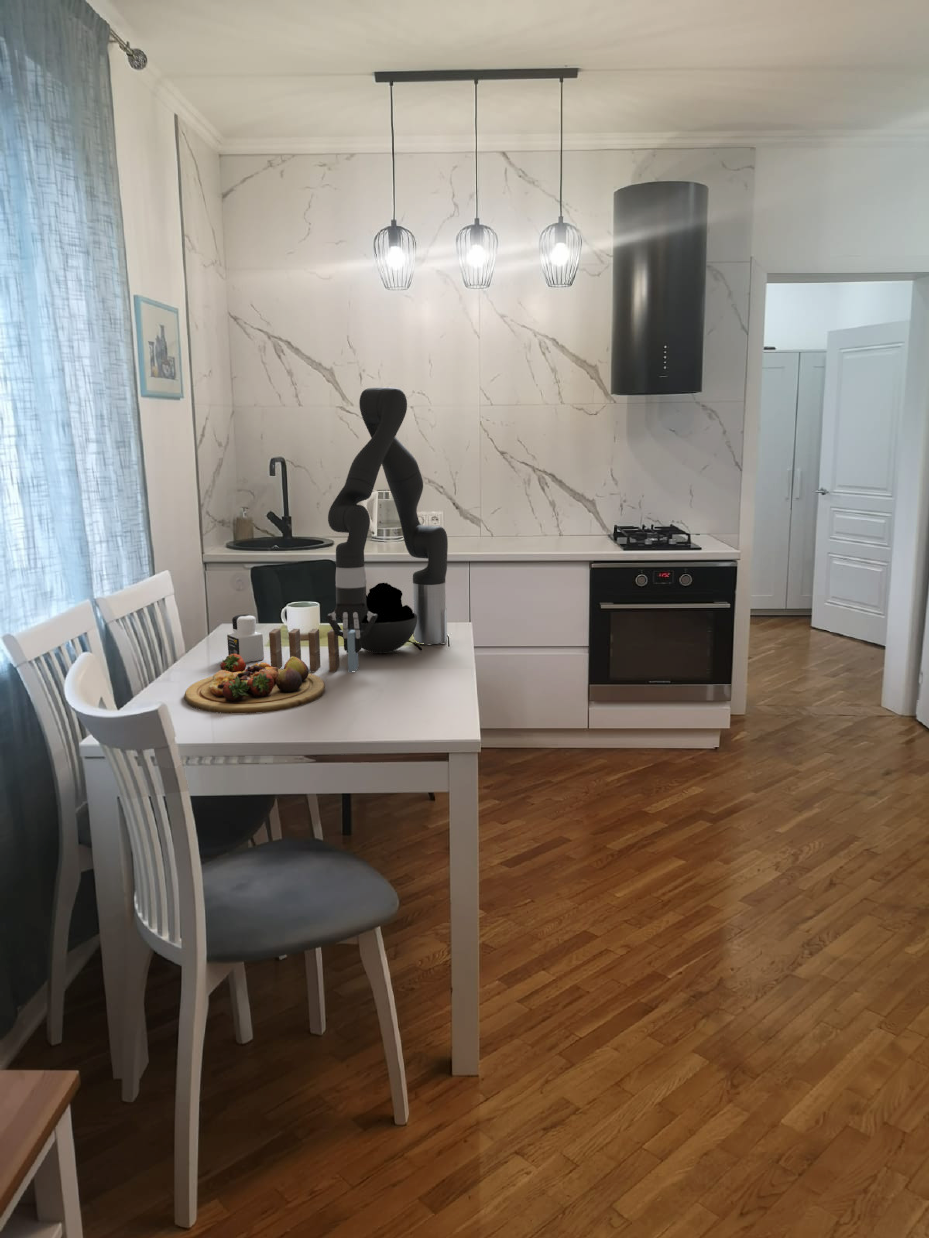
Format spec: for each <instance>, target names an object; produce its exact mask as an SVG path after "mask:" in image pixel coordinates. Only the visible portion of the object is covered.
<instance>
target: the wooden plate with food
mask: <svg viewBox="0 0 929 1238" xmlns="http://www.w3.org/2000/svg"><path fill="white" fill-rule="evenodd" d="M246 664H247V663H245V662H244V660H243V659H242V657H241V656H240V655H237V654H230V655H229V656H228V655H227V656H226V657H225V659H222V662H221V663H220V670H219V671H217V672H215V674H213V675H212V676H209V677H205V678H203V679H201V680H198V681H195V682H194V683H193V684H191V685H190V686H188V688H187V689H186V690H185V693H184V700H185V702H186V703H187V705H188V706H190V707H192V708H195V709H196V708H197V710H199V709H200V711H204V712H209V713H210V712H211V713H216V712H218V714H231V713H246V714H257V713H256V712H262V713H270V712H277V711H284V710H287V709H288V710H289V709H292V708H296V707H300V706H301V707H302V706H304V705H307V704H310V703H312V702H315V701H316V700H318V699H319V698H320V697H321V698H322V696H323V695H324V694H325V692H326V683H325V682H324V680H323V679H322V678H321V677H319V676H317V675H315V674H313V673H310V668H309V667H308V665H307V664H306V663H305V662H304V661H303V660H302V658H301V659H299V658H297V657H293V656H292V657H291V658H290V657H289V658H288V660H287V661H286V662H285V664H284V667H283V669H282V668H281V669H278V668H276V667H271V664H269V663H267V662H263V661H261V662H260V663H257V662H255V664H253V665H251V666H249V665H248V666H247V665H246ZM220 712H221V713H220Z"/></svg>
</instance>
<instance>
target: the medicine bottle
mask: <svg viewBox="0 0 929 1238" xmlns="http://www.w3.org/2000/svg"><path fill="white" fill-rule="evenodd" d="M256 620H257V619H256V616H254V615H252V614H238V615H235V616H233V617H232V619H231V621H232V622H231V623H232V632H228V633H227V639H226V640H227V651H228V653H227V654H228V655H227V656H229V655H230V654H237V655H240V656H241V657H242V659H243V660H244V662H245V664H247V663H251V662H250V661H253V662H257V661H263V660H265V652H264V637H263V636H264V635H263V633H260V632H257V622H256ZM246 662H247V663H246Z"/></svg>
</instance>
